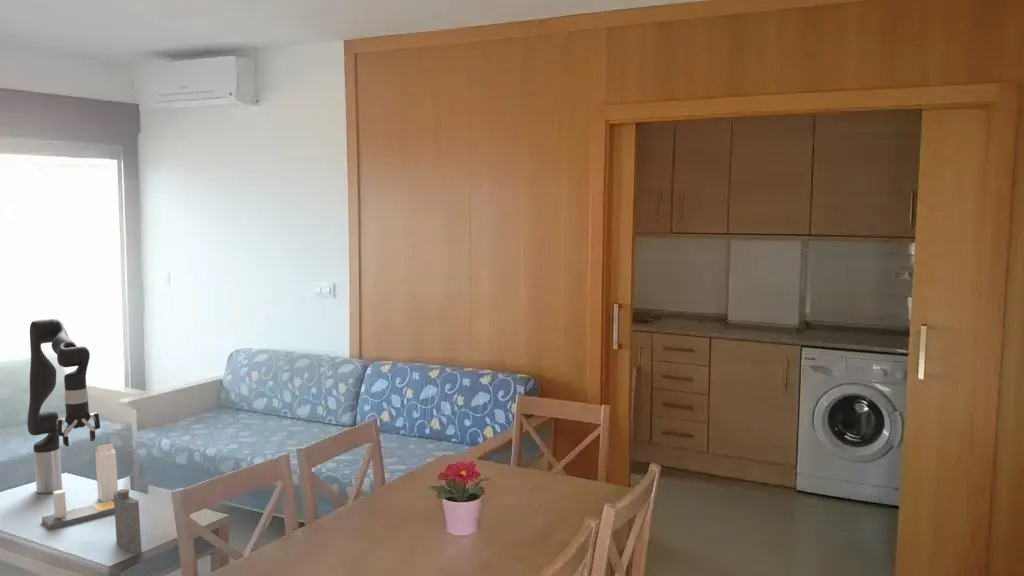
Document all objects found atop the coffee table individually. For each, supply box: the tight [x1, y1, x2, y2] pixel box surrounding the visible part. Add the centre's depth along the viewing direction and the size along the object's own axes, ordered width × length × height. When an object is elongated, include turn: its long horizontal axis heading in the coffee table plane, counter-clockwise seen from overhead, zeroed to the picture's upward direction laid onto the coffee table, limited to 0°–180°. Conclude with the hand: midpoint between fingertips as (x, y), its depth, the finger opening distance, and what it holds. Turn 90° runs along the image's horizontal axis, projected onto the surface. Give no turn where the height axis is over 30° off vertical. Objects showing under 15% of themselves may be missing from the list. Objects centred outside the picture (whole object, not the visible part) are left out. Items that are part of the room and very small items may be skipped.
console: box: [41, 499, 115, 531], centre depth 305 cm, size 10×26×2 cm, turn 134°
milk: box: [94, 443, 119, 503], centre depth 323 cm, size 6×6×22 cm
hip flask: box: [113, 488, 142, 554], centre depth 276 cm, size 16×4×20 cm, turn 47°
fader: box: [52, 489, 67, 518], centre depth 298 cm, size 4×3×9 cm
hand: (79, 443), depth 299 cm, fingers open, 8 cm apart
